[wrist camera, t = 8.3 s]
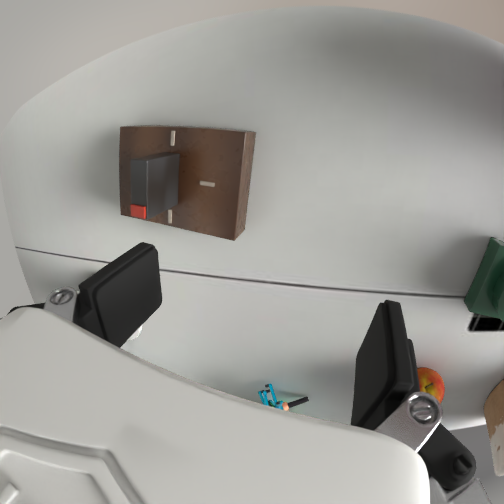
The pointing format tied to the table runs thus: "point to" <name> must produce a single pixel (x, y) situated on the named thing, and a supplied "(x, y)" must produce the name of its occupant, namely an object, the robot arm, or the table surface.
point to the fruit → (431, 383)
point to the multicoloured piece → (279, 404)
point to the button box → (489, 283)
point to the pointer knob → (154, 184)
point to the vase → (496, 426)
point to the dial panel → (195, 175)
